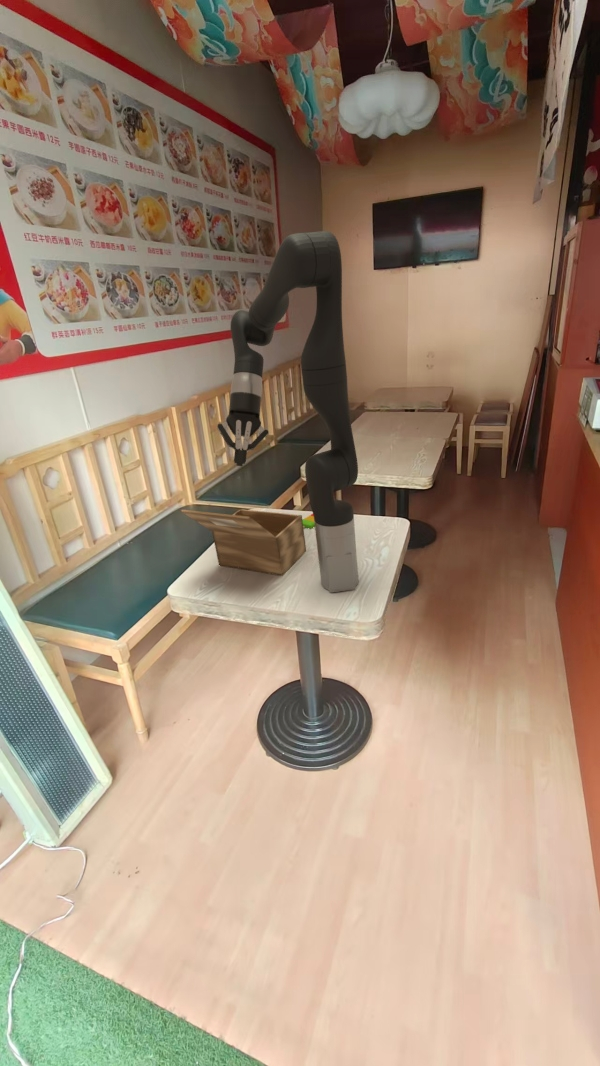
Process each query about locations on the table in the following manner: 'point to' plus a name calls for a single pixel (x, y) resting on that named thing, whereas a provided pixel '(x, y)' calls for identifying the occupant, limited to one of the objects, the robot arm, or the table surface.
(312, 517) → the popsicle
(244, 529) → the flap
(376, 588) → the table surface
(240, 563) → the brown wooden box
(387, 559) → the table surface
